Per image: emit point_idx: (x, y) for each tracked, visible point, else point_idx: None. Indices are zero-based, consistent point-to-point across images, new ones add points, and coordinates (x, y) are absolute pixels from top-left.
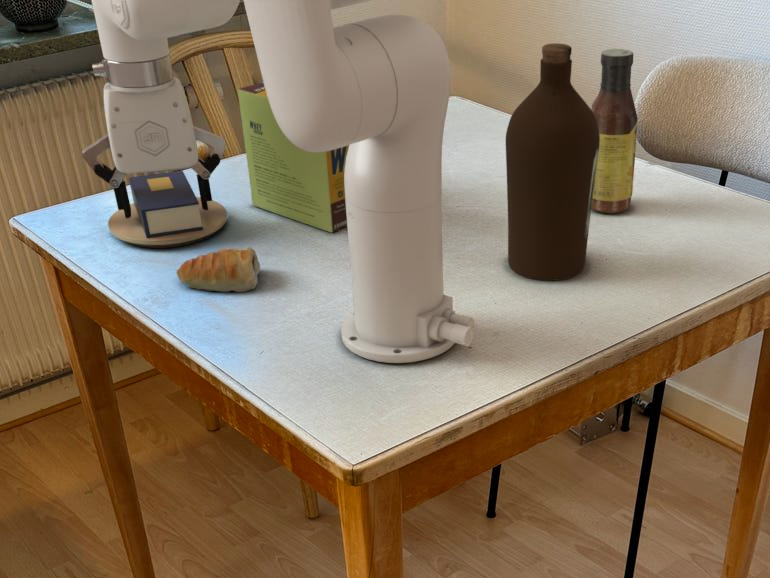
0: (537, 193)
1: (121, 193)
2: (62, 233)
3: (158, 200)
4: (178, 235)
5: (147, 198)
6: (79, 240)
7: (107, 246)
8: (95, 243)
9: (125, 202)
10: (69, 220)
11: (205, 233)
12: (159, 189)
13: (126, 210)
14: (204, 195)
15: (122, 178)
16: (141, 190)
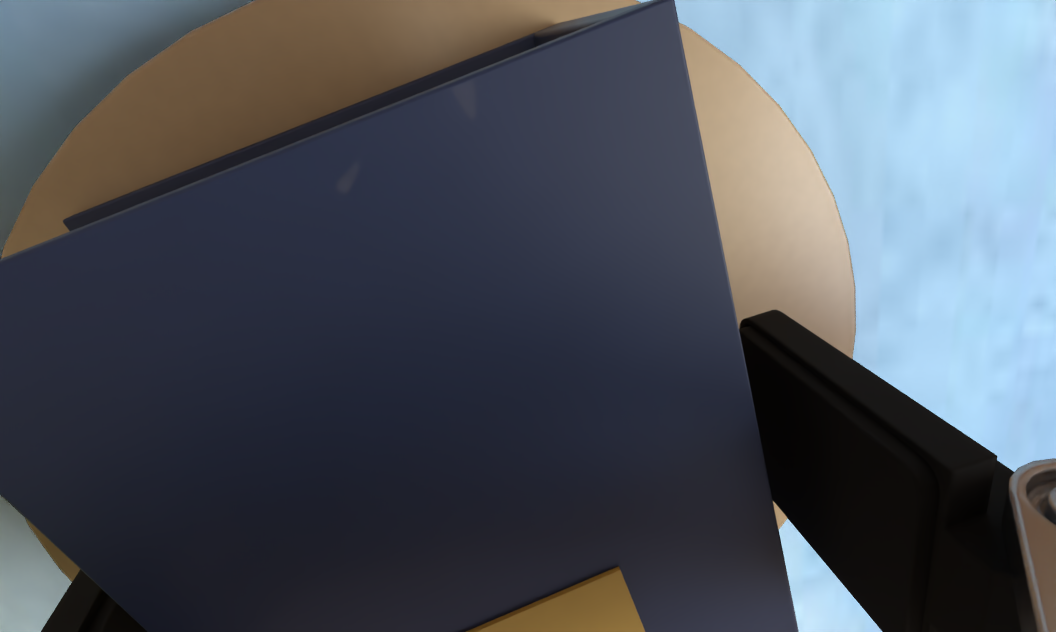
0: None
1: (928, 421)
2: (1036, 295)
3: (494, 356)
4: (279, 85)
5: (636, 403)
6: (970, 203)
7: (823, 105)
8: (890, 157)
9: (834, 375)
10: (986, 442)
11: (44, 171)
12: (549, 612)
13: (791, 337)
14: (58, 619)
15: (1045, 589)
16: (716, 571)
